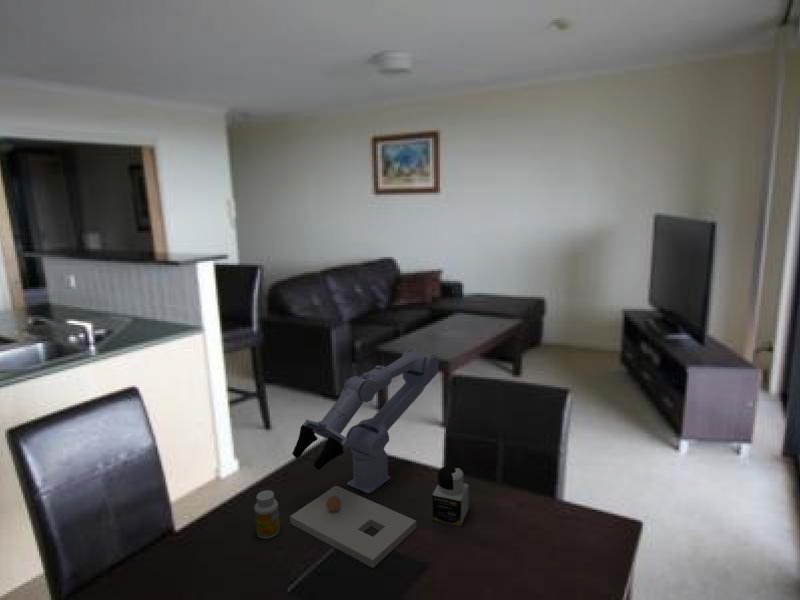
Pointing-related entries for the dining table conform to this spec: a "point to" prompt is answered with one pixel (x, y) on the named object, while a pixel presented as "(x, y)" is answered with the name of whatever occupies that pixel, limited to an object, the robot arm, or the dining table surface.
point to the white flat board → (354, 525)
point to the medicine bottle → (450, 496)
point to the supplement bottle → (267, 515)
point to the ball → (333, 503)
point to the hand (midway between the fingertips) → (305, 461)
